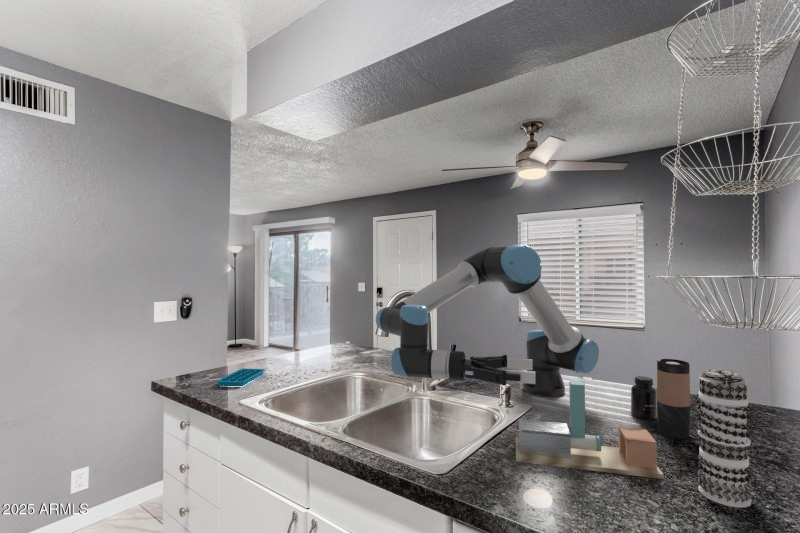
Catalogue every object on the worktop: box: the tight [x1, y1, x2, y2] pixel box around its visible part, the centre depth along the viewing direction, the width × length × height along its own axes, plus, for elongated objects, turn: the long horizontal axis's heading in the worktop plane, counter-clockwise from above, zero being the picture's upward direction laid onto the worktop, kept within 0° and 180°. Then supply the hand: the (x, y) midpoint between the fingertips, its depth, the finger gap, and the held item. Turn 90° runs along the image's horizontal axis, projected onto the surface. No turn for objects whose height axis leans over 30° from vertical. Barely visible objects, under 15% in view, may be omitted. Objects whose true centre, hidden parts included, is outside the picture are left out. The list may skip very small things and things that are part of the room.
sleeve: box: [518, 418, 571, 459], centre depth 100 cm, size 12×7×6 cm, turn 74°
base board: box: [515, 436, 664, 480], centre depth 97 cm, size 31×12×1 cm, turn 74°
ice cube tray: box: [216, 368, 266, 386], centre depth 167 cm, size 12×20×3 cm, turn 173°
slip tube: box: [568, 380, 602, 452], centre depth 98 cm, size 16×4×16 cm, turn 74°
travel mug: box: [656, 358, 691, 440], centre depth 111 cm, size 8×8×20 cm
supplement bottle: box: [630, 375, 658, 421], centre depth 124 cm, size 7×7×12 cm
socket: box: [618, 426, 658, 469], centre depth 94 cm, size 6×7×6 cm
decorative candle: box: [694, 368, 754, 509], centre depth 81 cm, size 9×9×25 cm
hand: (533, 370), depth 100 cm, fingers open, 13 cm apart
